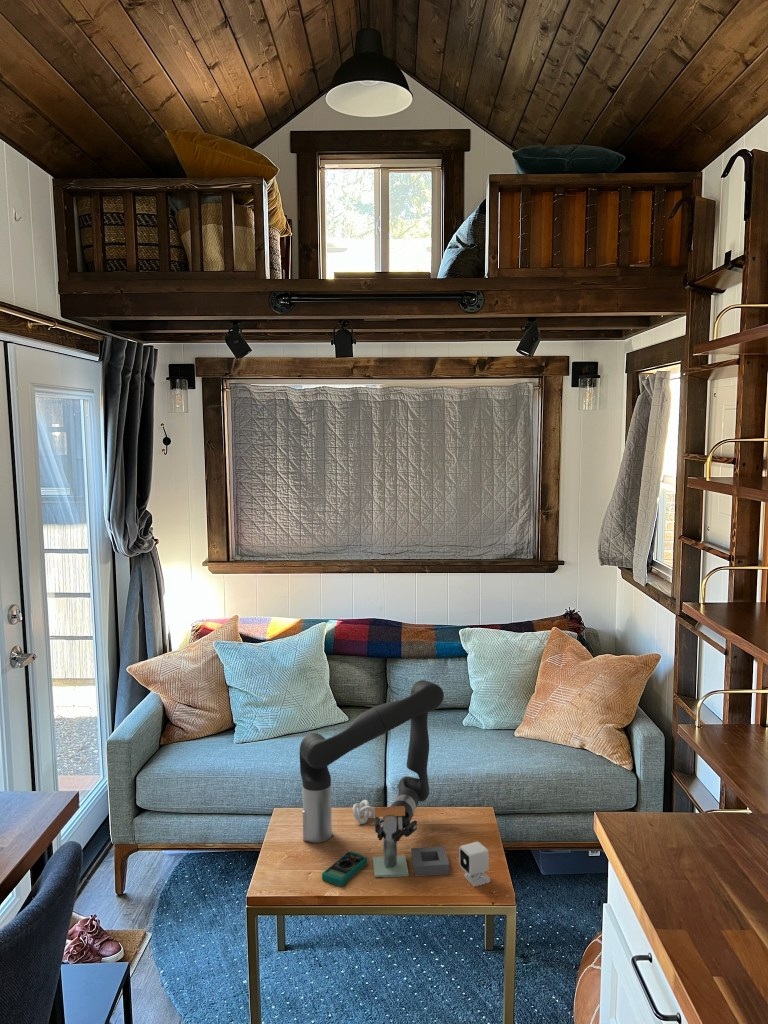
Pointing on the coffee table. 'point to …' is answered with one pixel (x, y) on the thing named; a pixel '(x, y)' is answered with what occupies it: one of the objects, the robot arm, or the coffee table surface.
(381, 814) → the t key
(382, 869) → the pad
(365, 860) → the digital multimeter
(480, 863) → the security camera
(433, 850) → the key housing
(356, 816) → the knot
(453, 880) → the coffee table surface
